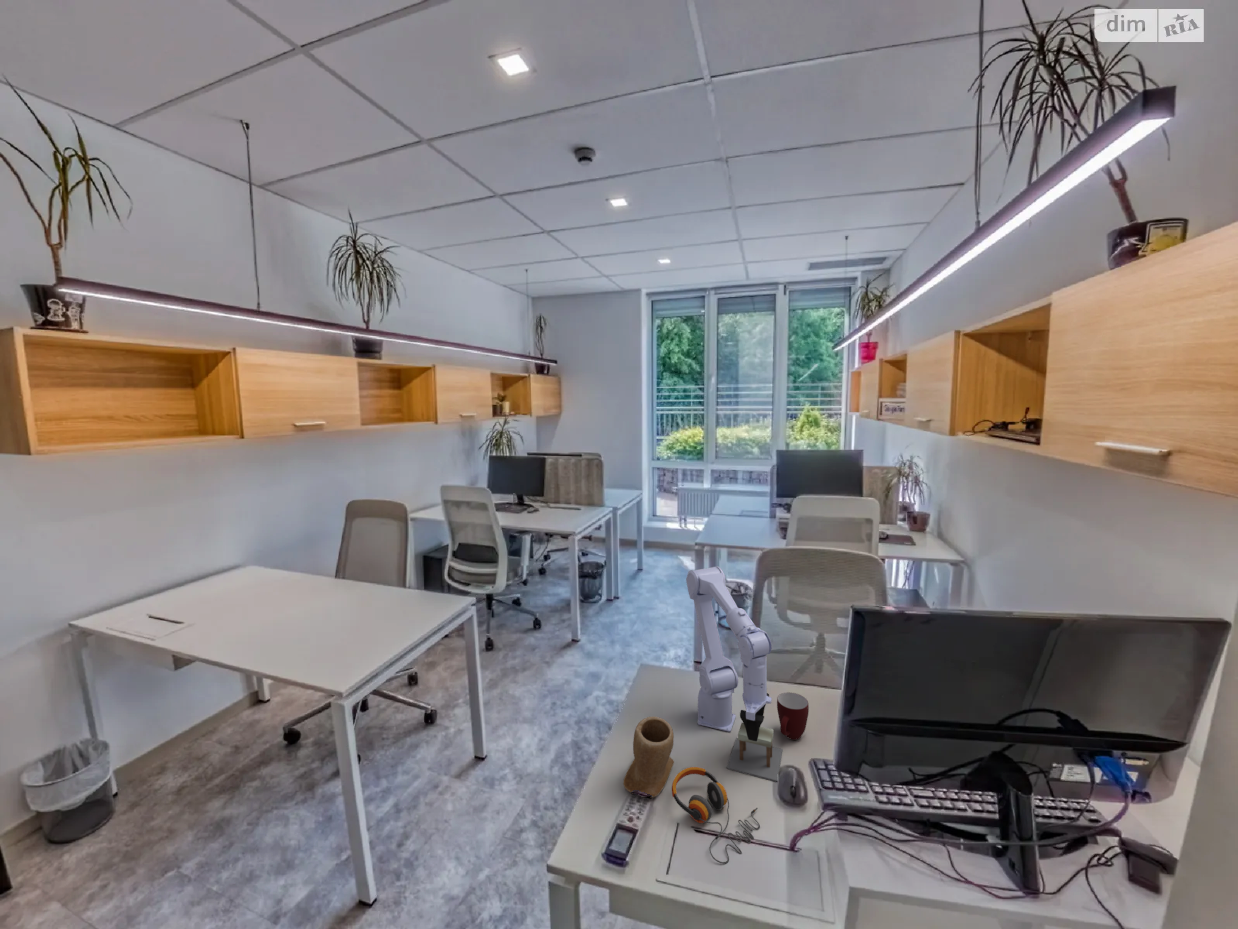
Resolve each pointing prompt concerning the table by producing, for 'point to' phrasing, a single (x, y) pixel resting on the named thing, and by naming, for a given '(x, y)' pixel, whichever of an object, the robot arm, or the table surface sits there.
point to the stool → (763, 740)
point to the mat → (755, 761)
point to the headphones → (702, 808)
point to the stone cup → (650, 756)
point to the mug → (792, 714)
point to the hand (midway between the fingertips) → (755, 730)
